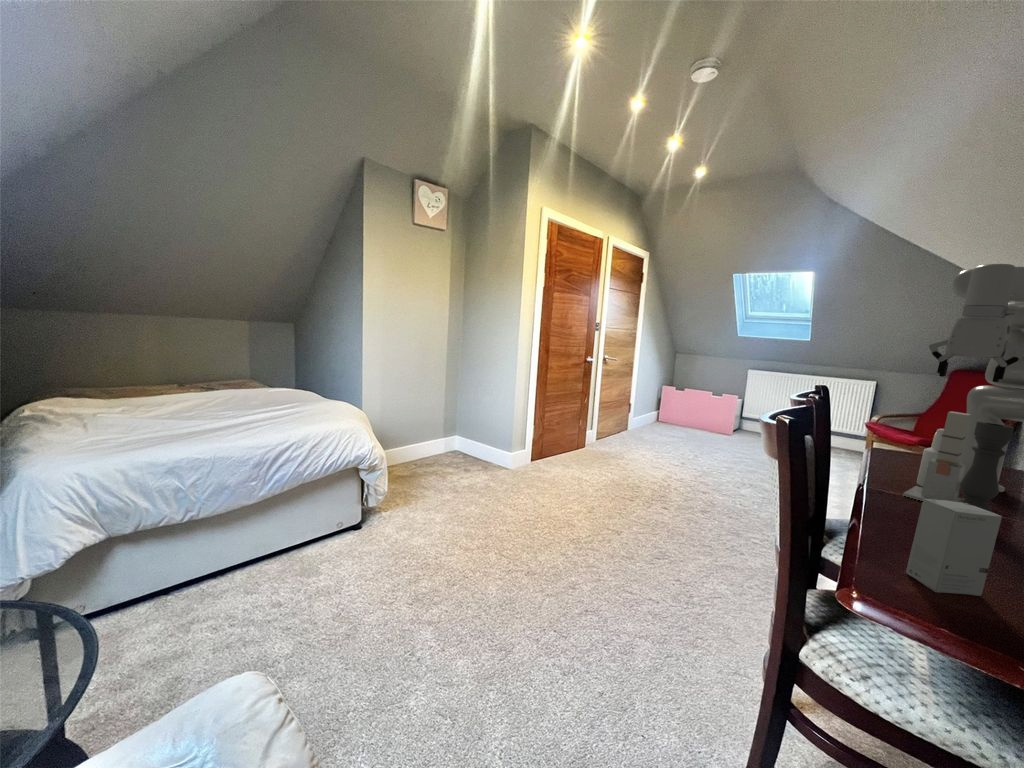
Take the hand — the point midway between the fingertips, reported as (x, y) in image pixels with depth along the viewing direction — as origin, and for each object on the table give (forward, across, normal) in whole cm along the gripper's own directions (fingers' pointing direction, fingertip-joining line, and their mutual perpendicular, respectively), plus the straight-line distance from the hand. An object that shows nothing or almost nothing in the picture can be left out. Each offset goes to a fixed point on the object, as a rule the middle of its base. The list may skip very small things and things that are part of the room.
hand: (967, 379), depth 108 cm
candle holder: (+34, -8, +15) cm, 38 cm away
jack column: (+27, 0, 0) cm, 27 cm away
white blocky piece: (+34, 0, +1) cm, 34 cm away
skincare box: (+34, -11, +58) cm, 68 cm away
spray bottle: (+34, +4, -13) cm, 37 cm away
